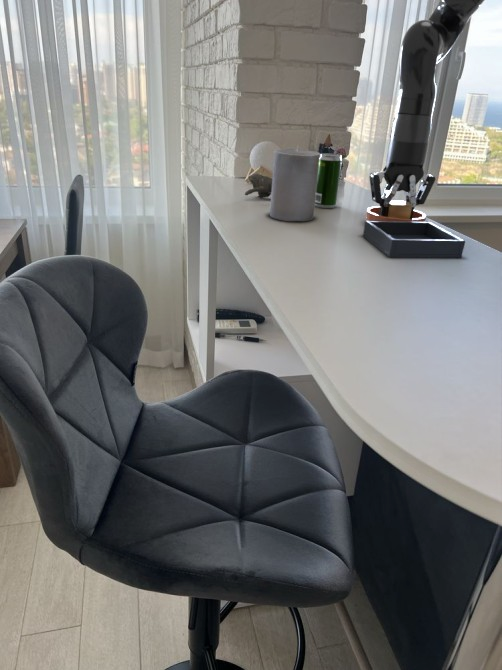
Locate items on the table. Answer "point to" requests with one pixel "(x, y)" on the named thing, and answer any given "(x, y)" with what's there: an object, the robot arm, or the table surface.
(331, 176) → the beer can
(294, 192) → the pillar candle
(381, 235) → the tray
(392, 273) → the table surface
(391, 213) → the block
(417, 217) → the plate
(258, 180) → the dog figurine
